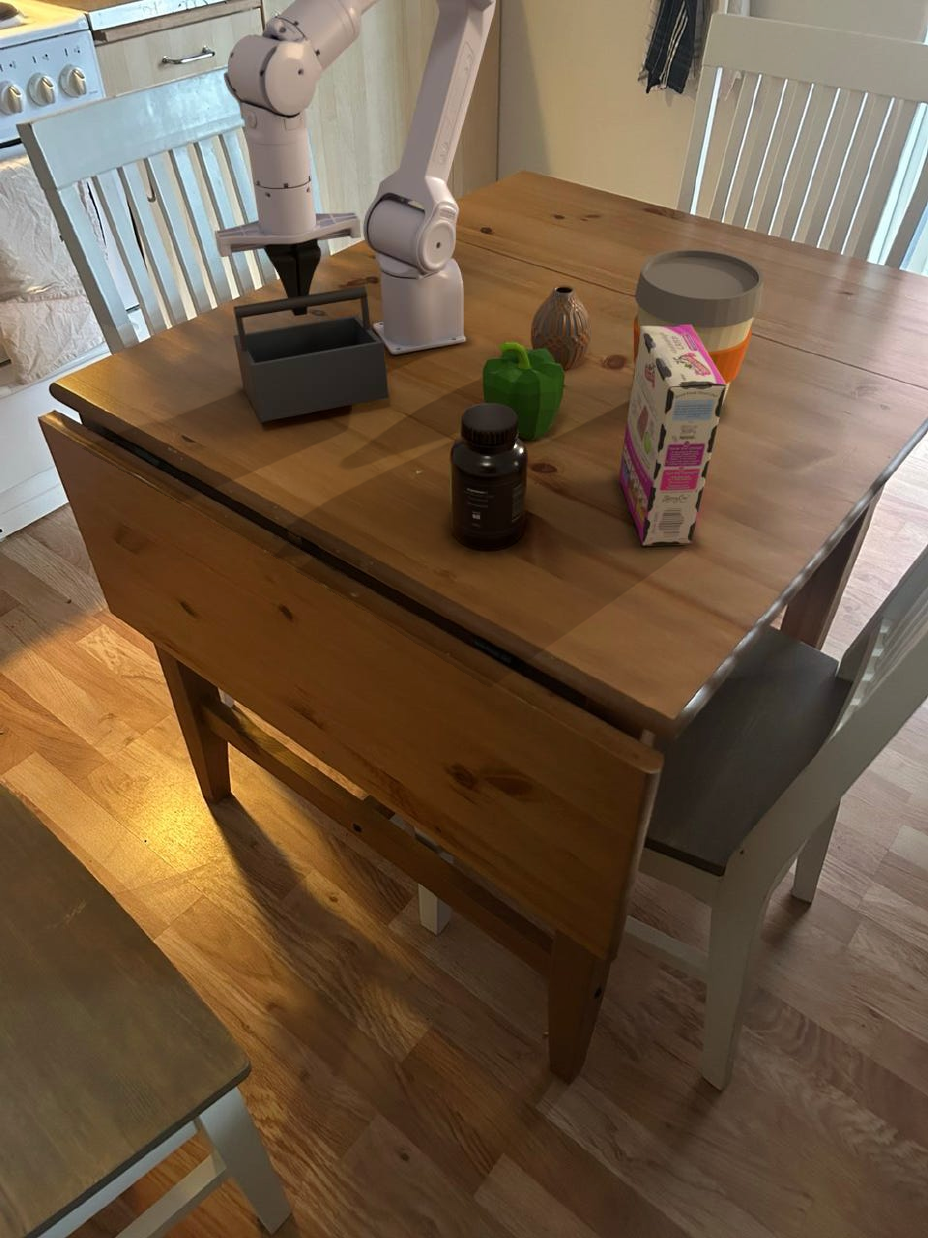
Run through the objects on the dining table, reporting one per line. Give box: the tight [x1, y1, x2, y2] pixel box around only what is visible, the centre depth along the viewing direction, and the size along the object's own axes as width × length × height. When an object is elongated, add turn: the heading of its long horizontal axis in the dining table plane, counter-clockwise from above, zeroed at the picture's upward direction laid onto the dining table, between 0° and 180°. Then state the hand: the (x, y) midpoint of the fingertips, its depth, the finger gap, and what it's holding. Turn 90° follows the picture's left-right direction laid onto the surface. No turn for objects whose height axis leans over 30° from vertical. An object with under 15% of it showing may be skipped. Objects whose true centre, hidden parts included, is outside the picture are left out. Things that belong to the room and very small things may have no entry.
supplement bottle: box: [449, 402, 529, 551], centre depth 85 cm, size 7×7×12 cm
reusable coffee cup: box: [633, 248, 764, 405], centre depth 100 cm, size 13×13×15 cm
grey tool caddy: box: [233, 285, 390, 423], centre depth 103 cm, size 10×14×11 cm
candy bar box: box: [618, 325, 727, 547], centre depth 86 cm, size 11×5×16 cm, turn 5°
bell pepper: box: [482, 341, 566, 441], centre depth 99 cm, size 8×8×10 cm
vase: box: [530, 284, 592, 370], centre depth 110 cm, size 7×7×9 cm
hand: (298, 311), depth 103 cm, fingers closed, pressing on grey tool caddy
